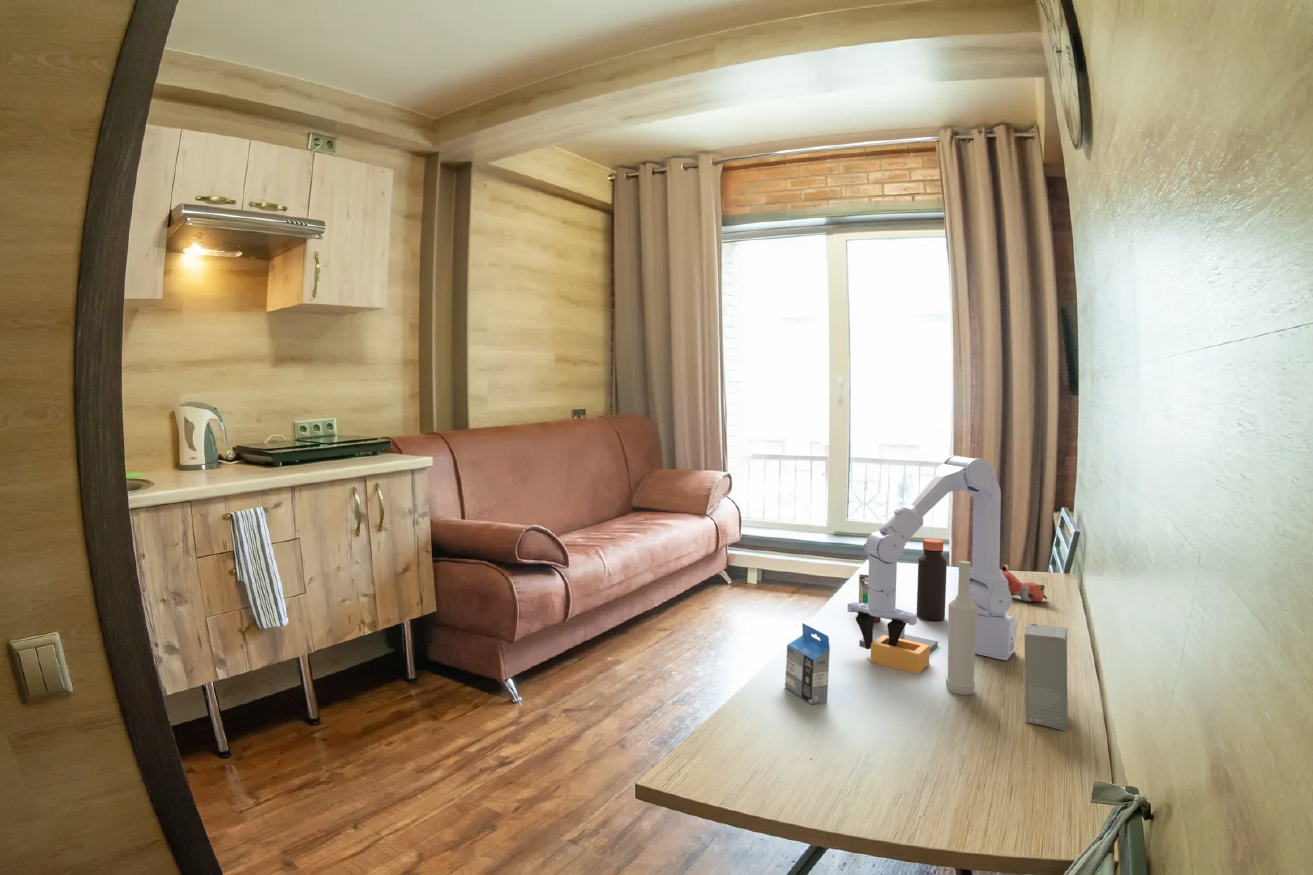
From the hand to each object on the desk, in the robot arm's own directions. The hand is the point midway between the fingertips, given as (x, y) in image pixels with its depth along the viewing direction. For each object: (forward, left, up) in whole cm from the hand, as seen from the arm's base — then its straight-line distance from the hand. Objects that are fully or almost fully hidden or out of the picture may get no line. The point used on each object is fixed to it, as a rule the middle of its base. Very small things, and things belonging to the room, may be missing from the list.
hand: (880, 650), depth 153 cm
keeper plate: (0, -10, -2) cm, 11 cm away
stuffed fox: (-14, -71, -2) cm, 73 cm away
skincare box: (-33, +10, -2) cm, 35 cm away
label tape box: (+4, +28, -2) cm, 28 cm away
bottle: (-18, +6, -2) cm, 20 cm away
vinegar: (+1, -36, -2) cm, 37 cm away
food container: (+12, -26, -2) cm, 28 cm away
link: (-4, 0, -2) cm, 5 cm away
